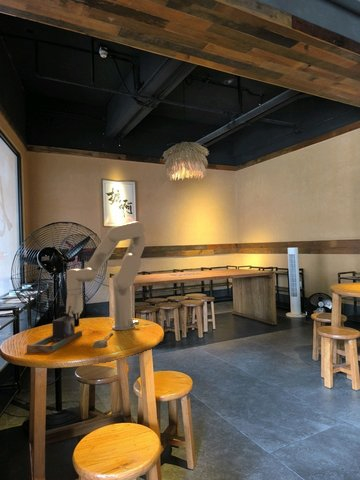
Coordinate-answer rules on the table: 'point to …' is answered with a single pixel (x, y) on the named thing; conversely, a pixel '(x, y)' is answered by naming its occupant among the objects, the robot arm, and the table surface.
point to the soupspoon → (101, 342)
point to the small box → (63, 328)
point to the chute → (43, 348)
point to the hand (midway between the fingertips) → (75, 326)
